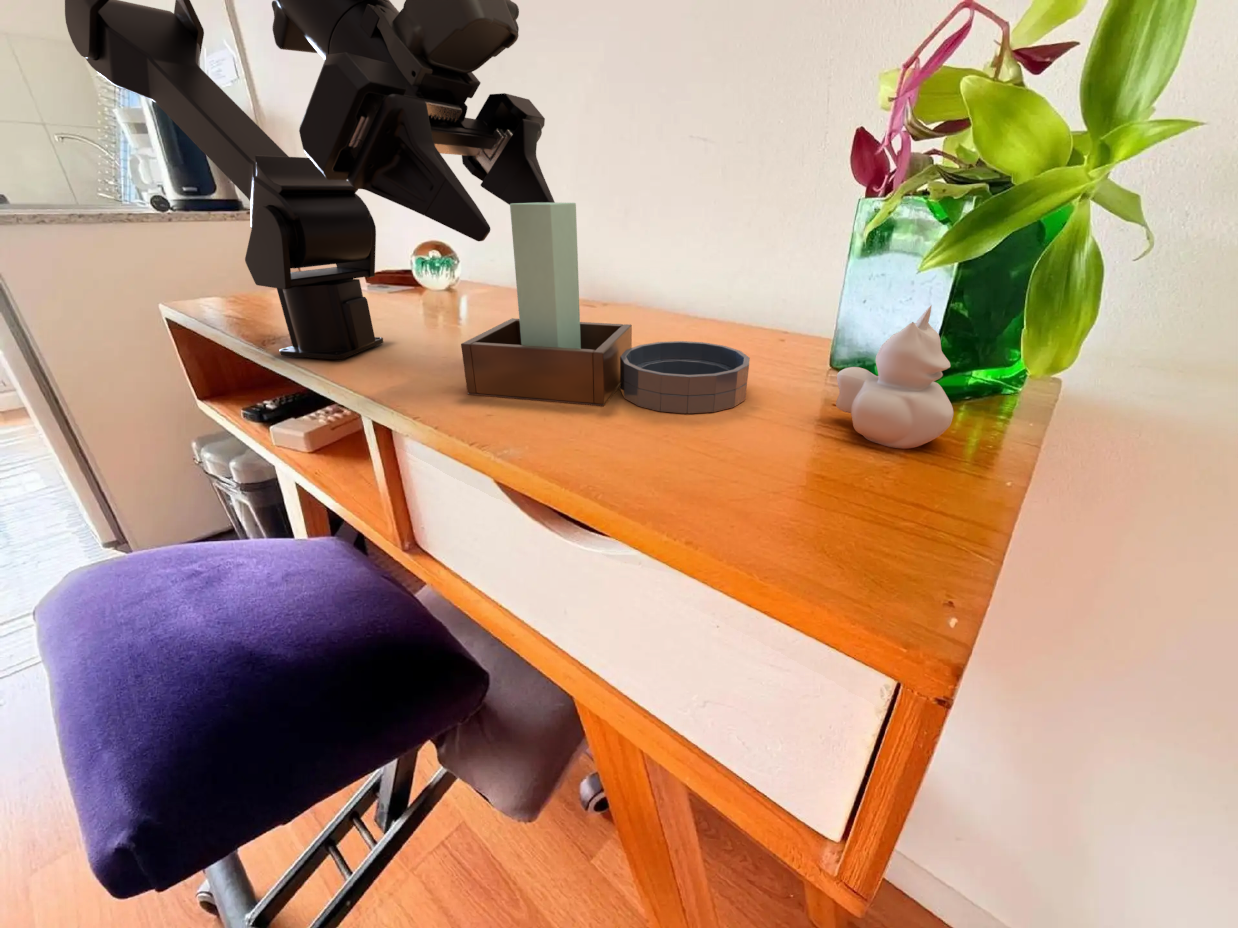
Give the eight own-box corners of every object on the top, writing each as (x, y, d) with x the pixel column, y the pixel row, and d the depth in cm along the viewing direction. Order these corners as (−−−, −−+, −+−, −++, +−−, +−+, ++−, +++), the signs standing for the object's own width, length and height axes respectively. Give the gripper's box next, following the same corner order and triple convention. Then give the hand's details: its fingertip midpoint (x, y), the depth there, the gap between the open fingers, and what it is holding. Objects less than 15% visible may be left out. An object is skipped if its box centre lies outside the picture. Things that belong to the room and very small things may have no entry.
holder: (468, 401, 39) (460, 343, 37) (515, 367, 46) (511, 318, 44) (604, 413, 37) (603, 352, 35) (631, 375, 44) (631, 324, 42)
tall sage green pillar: (524, 384, 40) (509, 203, 35) (548, 371, 43) (537, 202, 38) (560, 389, 39) (550, 203, 34) (582, 375, 42) (576, 202, 37)
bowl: (607, 414, 36) (606, 370, 35) (635, 375, 44) (636, 338, 43) (742, 426, 34) (747, 380, 33) (747, 383, 42) (751, 344, 41)
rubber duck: (919, 473, 29) (962, 319, 25) (806, 435, 33) (829, 300, 29) (957, 444, 32) (1000, 304, 28) (850, 413, 36) (875, 289, 33)
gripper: (275, -178, 24) (515, 112, 25) (512, -34, 39) (653, 141, 40) (215, 60, 30) (409, 282, 31) (439, 103, 45) (563, 251, 46)
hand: (525, 231), depth 37 cm, fingers open, 9 cm apart
